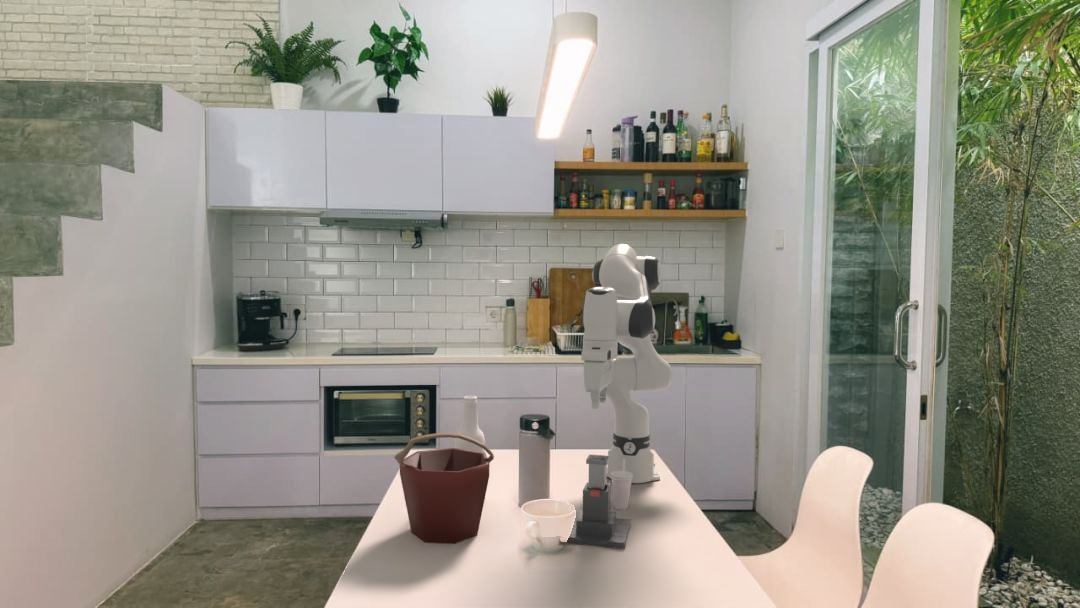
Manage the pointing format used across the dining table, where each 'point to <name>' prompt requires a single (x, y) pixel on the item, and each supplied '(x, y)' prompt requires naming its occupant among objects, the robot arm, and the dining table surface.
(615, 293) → the robot arm
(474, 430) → the white bottle
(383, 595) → the dining table surface
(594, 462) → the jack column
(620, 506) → the smoothie
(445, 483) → the bucket
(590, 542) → the base
